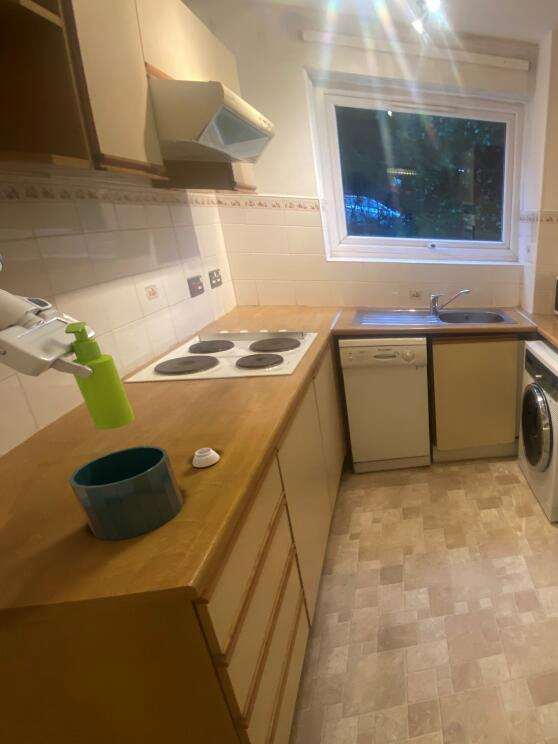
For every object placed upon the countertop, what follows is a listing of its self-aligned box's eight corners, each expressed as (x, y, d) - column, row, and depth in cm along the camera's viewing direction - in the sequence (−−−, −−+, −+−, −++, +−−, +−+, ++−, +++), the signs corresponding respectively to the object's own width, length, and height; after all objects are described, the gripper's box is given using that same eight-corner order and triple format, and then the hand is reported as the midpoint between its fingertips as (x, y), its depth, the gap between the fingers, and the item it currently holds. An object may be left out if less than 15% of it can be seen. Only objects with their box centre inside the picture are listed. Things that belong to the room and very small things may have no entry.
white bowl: (218, 454, 101) (192, 461, 98) (214, 443, 99) (188, 450, 96) (221, 463, 97) (194, 471, 94) (218, 452, 96) (190, 459, 93)
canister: (79, 549, 73) (53, 495, 68) (109, 503, 84) (88, 455, 80) (174, 527, 78) (155, 476, 74) (190, 487, 89) (174, 440, 85)
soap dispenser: (91, 435, 80) (47, 331, 72) (98, 419, 85) (57, 321, 77) (132, 426, 83) (94, 326, 75) (136, 412, 88) (101, 317, 80)
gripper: (-23, 321, 64) (86, 373, 72) (46, 297, 82) (128, 341, 89) (-50, 353, 64) (61, 402, 72) (25, 322, 82) (108, 364, 89)
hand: (99, 368), depth 80 cm, fingers closed on soap dispenser, 6 cm apart
